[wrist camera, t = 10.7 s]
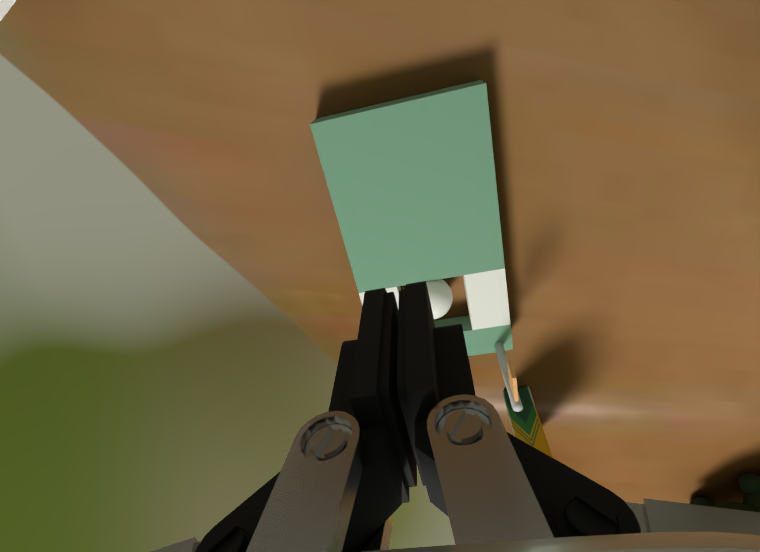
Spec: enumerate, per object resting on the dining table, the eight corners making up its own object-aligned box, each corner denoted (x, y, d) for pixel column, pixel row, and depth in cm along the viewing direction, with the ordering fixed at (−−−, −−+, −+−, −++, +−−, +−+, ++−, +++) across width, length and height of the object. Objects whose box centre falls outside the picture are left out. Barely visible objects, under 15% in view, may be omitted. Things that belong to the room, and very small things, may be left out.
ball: (446, 263, 39) (453, 301, 37) (451, 287, 42) (457, 323, 40) (403, 271, 40) (407, 309, 37) (410, 294, 43) (414, 330, 41)
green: (480, 79, 33) (510, 97, 23) (507, 333, 44) (535, 413, 35) (315, 118, 35) (284, 149, 25) (381, 352, 46) (376, 432, 37)
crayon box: (500, 390, 47) (527, 486, 37) (528, 384, 47) (562, 480, 37) (512, 434, 51) (539, 534, 41) (538, 430, 50) (572, 530, 40)
